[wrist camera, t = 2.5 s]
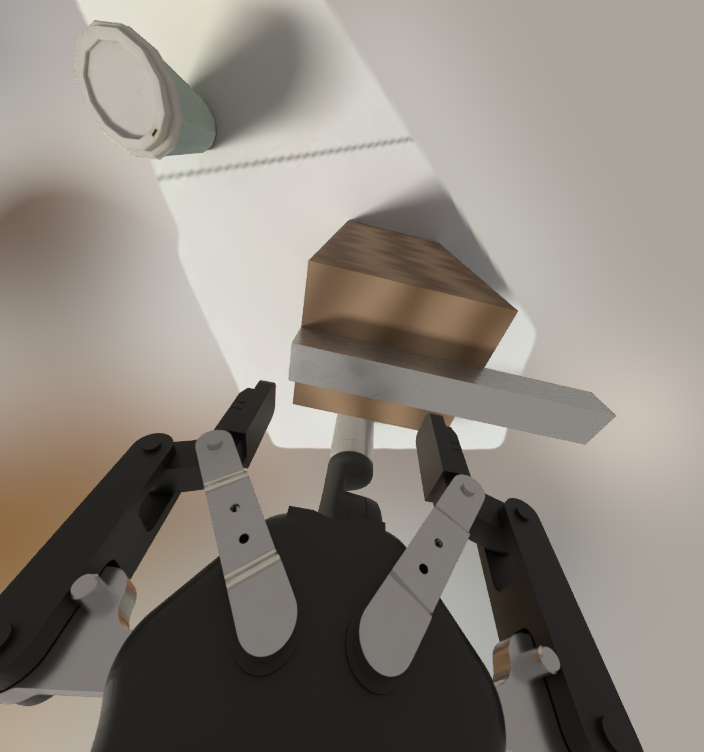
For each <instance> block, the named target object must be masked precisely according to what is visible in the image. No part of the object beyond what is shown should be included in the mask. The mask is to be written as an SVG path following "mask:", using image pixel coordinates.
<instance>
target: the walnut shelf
mask: <svg viewBox="0 0 704 752" xmlns="http://www.w3.org/2000/svg"><path fill="white" fill-rule="evenodd" d="M517 312H518V311H517V310H516V309H515V308H514V307H513V306H512V305H510V304H509V303H508V302H507V301H506V300H505V299H503V298H502V297H501V296H500V295H499V294H498V293H496V292H495V291H494V290H493V289H492V288H491V287H489V286H488V285H487V284H486V283H485V282H484V281H482V280H481V279H480V278H479V277H478V276H477V275H475V274H474V273H473V272H472V271H471V270H470V269H468V268H467V267H466V266H465V265H464V264H463V263H461V262H460V261H459V260H458V259H457V258H456V257H454V256H453V255H452V254H451V253H450V252H449V251H447V250H446V249H445V248H444V247H443V246H441V245H440V244H439V243H436V242H432V241H428V240H424V239H420V238H416V237H412V236H408V235H404V234H400V233H396V232H392V231H388V230H385V229H381V228H377V227H373V226H369V225H365V224H361V223H357V222H353V221H349V220H348V221H347V222H346V223H345V224H344V225H343V226H342V227H341V228H340V229H339V230H338V231H337V232H336V233H335V234H334V235H333V236H332V237H331V239H330V240H329V241H328V242H327V243H326V244H325V245H324V246H323V247H322V248H321V249H320V250H319V251H318V252H317V253H316V254H315V255H314V256H313V257H312V258H311V259H310V260H309V262H308V271H307V280H306V289H305V298H304V307H303V316H302V325H301V326H303V327H307V328H311V329H316V330H320V331H325V332H329V333H333V334H338V335H342V336H346V337H351V338H355V339H360V340H364V341H368V342H373V343H377V344H382V345H386V346H390V347H395V348H399V349H403V350H408V351H412V352H417V353H421V354H425V355H430V356H434V357H439V358H443V359H447V360H452V361H456V362H460V363H465V364H469V365H474V366H478V367H482V368H484V367H485V366H486V364H487V362H488V361H489V359H490V357H491V356H492V354H493V352H494V351H495V349H496V347H497V346H498V344H499V342H500V341H501V339H502V337H503V336H504V334H505V332H506V331H507V329H508V327H509V326H510V324H511V322H512V321H513V319H514V317H515V316H516V314H517ZM293 404H296V405H301V406H305V407H310V408H315V409H319V410H324V411H329V412H334V413H338V414H343V415H348V416H352V417H357V418H362V419H367V420H371V421H376V422H381V423H385V424H390V425H395V426H400V427H404V428H409V429H414V430H418V431H419V428H420V426H421V424H422V422H423V420H424V418H425V416H426V414H427V413H431V414H437V415H442V416H443V418H444V421H445V425H446V426H448V427H449V426H450V424H451V422H452V421H453V419H454V417H455V416H451V415H446V414H442V413H437V412H433V411H428V410H423V409H419V408H414V407H409V406H405V405H400V404H396V403H391V402H386V401H382V400H377V399H373V398H368V397H363V396H359V395H354V394H349V393H345V392H340V391H336V390H331V389H326V388H322V387H317V386H313V385H308V384H303V383H299V382H295V388H294V398H293Z"/></svg>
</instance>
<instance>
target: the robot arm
mask: <svg viewBox="0 0 704 752" xmlns="http://www.w3.org/2000/svg"><path fill="white" fill-rule="evenodd" d="M275 390H276V385H275V383H273V382H268V381H262V380H260V381H259V382H258V384H257V385H256V387H255V389H251V388H247V389H245V390H244V391H242V392H241V393H239V394H238V396H237V397H236V399H235V400H234V402H233V403H232V405H231V406H230V408H229V409H228V410H227V412H226V413H225V415H224V416H223V418H222V419H221V421H220V422H219V423H218V425H217V426H216V428H215V429H214V430H213V431H209V432H207V433H205V434H203V435H202V436H201V437H199V438H198V439H197V440H192V441H180V442H173V439H172V438H171V437H170V436H169V435H167V434H163V433H155V434H151V435H147V436H145V437H142V438H141V439H139V440H138V441H136V442H135V443H134V444H133V445H132V446H131V447H130V448H129V450H128V451H127V452H126V453H125V454H124V455H123V456H122V458H121V459H120V460H119V461H118V462H117V463H116V464H115V466H114V467H113V468H112V469H111V470H110V471H109V472H108V473H107V475H106V476H105V477H104V478H103V479H102V480H101V481H100V482H99V484H98V485H97V486H96V487H95V488H94V489H93V491H92V492H91V493H90V494H89V495H88V496H87V497H86V499H84V501H83V502H82V503H81V504H80V505H79V506H78V507H77V508H76V510H75V511H74V512H73V513H72V514H71V515H70V516H69V518H68V519H67V520H66V521H65V522H64V523H63V524H62V525H61V527H60V528H59V529H58V530H57V531H56V532H55V533H54V534H53V536H52V537H51V538H50V539H49V540H48V541H47V542H46V544H45V545H44V546H43V547H42V548H41V549H40V550H39V551H38V553H37V554H36V555H35V556H34V557H33V558H32V559H31V561H30V562H29V563H28V564H27V565H26V567H24V568H23V570H22V571H21V572H20V573H19V574H18V575H17V576H16V577H15V579H14V580H13V581H12V582H11V583H10V584H9V586H8V587H7V588H6V589H5V590H4V591H3V592H2V593H1V594H0V703H1V704H18V705H23V706H32V705H36V704H39V703H42V702H44V701H46V700H47V699H49V698H51V697H52V696H54V695H62V696H63V695H64V696H84V697H103V701H102V708H101V714H100V719H99V724H98V728H97V732H96V736H95V739H94V742H93V746H92V749H91V752H643V749H642V747H641V744H640V742H639V739H638V737H637V735H636V733H635V730H634V728H633V726H632V724H631V722H630V720H629V717H628V715H627V713H626V710H625V709H624V706H623V704H622V702H621V699H620V697H619V695H618V693H617V691H616V688H615V686H614V684H613V682H612V679H611V677H610V675H609V673H608V670H607V668H606V666H605V664H604V661H603V659H602V657H601V655H600V653H599V650H598V648H597V646H596V644H595V641H594V639H593V637H592V635H591V633H590V631H589V628H588V626H587V624H586V622H585V619H584V617H583V615H582V613H581V610H580V608H579V606H578V604H577V601H576V599H575V597H574V595H573V592H572V590H571V588H570V586H569V584H568V581H567V579H566V577H565V575H564V573H563V570H562V568H561V566H560V564H559V561H558V559H557V557H556V555H555V552H554V550H553V548H552V546H551V543H550V541H549V539H548V537H547V535H546V532H545V530H544V528H543V526H542V524H541V522H540V519H539V517H538V515H537V514H536V512H535V511H534V510H533V509H532V508H531V507H530V506H529V505H528V504H526V503H525V502H523V501H521V500H519V499H516V498H510V499H508V500H507V501H506V502H505V503H504V502H502V501H499V500H497V499H495V498H493V497H491V496H489V495H487V494H485V493H484V490H483V488H482V487H481V485H480V484H479V483H478V482H477V481H476V480H475V479H473V478H471V476H470V473H469V470H468V467H467V464H466V461H465V458H464V455H463V453H462V449H461V446H460V445H459V444H460V443H459V440H458V437H457V435H456V433H455V432H454V431H453V430H452V428H451V427H448V426H446V425H445V421H444V418H443V416H442V415H437V414H431V413H427V414H426V416H425V418H424V420H423V422H422V424H421V426H420V428H419V431H418V433H417V437H416V447H417V453H418V460H419V466H420V473H421V479H422V485H423V492H424V497H425V501H428V502H433V504H434V508H433V510H432V511H431V513H430V514H429V516H428V517H427V519H426V520H425V521H424V523H423V524H422V526H421V528H420V529H419V530H418V532H417V533H416V535H415V536H414V538H413V539H412V541H411V543H410V544H409V545H408V547H407V548H406V546H405V545H404V544H403V543H402V542H401V541H400V540H399V539H398V538H396V537H395V536H394V535H392V534H390V533H389V532H387V531H385V523H384V522H382V517H381V511H380V508H379V506H378V504H377V503H376V502H375V501H373V500H371V499H369V498H367V497H363V496H360V495H356V494H353V493H349V492H346V491H350V490H358V489H361V488H363V487H365V486H367V485H368V484H369V483H370V482H371V480H372V476H373V436H374V421H371V420H367V419H362V418H357V417H352V416H348V415H343V414H337V419H336V425H335V430H334V436H333V441H332V447H331V453H330V458H329V464H328V470H327V474H326V479H325V484H324V489H323V494H322V498H321V502H320V506H319V510H318V512H316V511H314V510H310V509H304V508H299V507H292V506H289V509H288V512H287V513H285V514H280V515H275V516H273V517H270V518H268V519H266V520H265V519H264V517H263V514H262V511H261V508H260V506H259V503H258V500H257V497H256V494H255V492H254V489H253V486H252V484H251V481H250V478H249V475H248V473H247V472H246V471H244V469H243V468H248V467H249V465H250V463H251V461H252V459H253V457H254V455H255V453H256V450H257V448H258V446H259V444H260V442H261V440H262V437H263V436H264V433H265V431H266V429H267V427H268V425H269V423H270V421H271V419H272V416H273V413H274V409H275ZM202 489H205V492H206V497H207V501H208V506H209V511H210V515H211V520H212V524H213V529H214V533H215V537H216V542H217V547H218V551H219V556H218V557H217V558H216V559H215V560H214V561H212V562H211V563H210V564H209V565H208V566H206V567H205V568H204V569H203V570H201V571H200V572H199V573H198V574H197V575H195V576H194V577H193V578H192V579H190V581H188V582H187V583H186V584H184V585H183V586H182V587H181V588H179V589H178V590H177V591H176V592H175V593H173V594H172V595H171V596H170V597H168V599H166V600H165V601H164V602H162V603H161V604H160V605H159V606H157V607H156V608H155V609H154V610H153V611H151V612H150V613H149V614H148V615H147V616H146V617H145V618H144V619H143V620H142V621H141V622H140V623H139V624H138V625H137V626H136V627H135V629H134V630H133V631H132V630H130V628H129V620H130V615H131V612H132V610H133V607H134V604H135V601H136V595H137V593H136V588H135V586H134V585H133V583H132V582H131V581H130V579H131V578H132V576H133V574H134V572H135V571H136V569H137V567H138V566H139V564H140V562H141V560H142V559H143V557H144V555H145V554H146V552H147V550H148V548H149V547H150V545H151V543H152V542H153V540H154V538H155V536H156V535H157V533H158V531H159V530H160V528H161V526H162V524H163V523H164V521H165V519H166V518H167V516H168V514H169V512H170V511H171V509H172V507H173V506H174V504H175V502H176V500H177V499H178V497H179V495H180V493H181V492H187V491H195V490H202ZM468 539H469V540H471V541H473V542H475V543H477V547H478V551H479V556H480V559H481V564H482V568H483V573H484V577H485V581H486V585H487V590H488V594H489V598H490V602H491V606H492V611H493V615H494V620H495V624H496V628H497V632H498V637H499V641H500V642H499V643H498V644H497V645H496V646H495V647H494V650H493V668H494V669H493V672H494V675H493V680H492V678H491V676H490V674H489V672H488V670H487V668H486V667H485V665H484V663H483V662H482V660H481V659H480V657H479V656H478V654H477V653H476V651H475V650H474V648H473V647H472V645H471V644H470V642H469V641H468V639H467V638H466V636H465V635H464V633H463V632H462V630H461V629H460V627H459V626H458V624H457V623H456V621H455V619H454V618H453V616H452V615H451V613H450V612H449V610H448V609H447V607H446V606H445V604H444V603H443V602H442V600H441V598H440V596H441V594H442V592H443V590H444V588H445V586H446V584H447V582H448V580H449V578H450V575H451V573H452V571H453V569H454V567H455V565H456V563H457V561H458V559H459V557H460V555H461V553H462V551H463V548H464V546H465V544H466V542H467V540H468Z"/></svg>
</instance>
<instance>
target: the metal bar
mask: <svg viewBox="0 0 704 752" xmlns="http://www.w3.org/2000/svg"><path fill="white" fill-rule="evenodd" d="M289 381H294V382H299V383H303V384H308V385H313V386H317V387H322V388H326V389H331V390H336V391H340V392H345V393H349V394H354V395H359V396H363V397H368V398H373V399H377V400H382V401H386V402H391V403H396V404H400V405H405V406H409V407H414V408H419V409H423V410H428V411H433V412H437V413H442V414H446V415H451V416H456V417H460V418H465V419H470V420H474V421H479V422H483V423H488V424H493V425H497V426H502V427H506V428H511V429H516V430H520V431H525V432H530V433H534V434H539V435H543V436H548V437H553V438H557V439H562V440H567V441H571V442H576V443H581V444H586V443H588V441H590V440H591V439H592V438H593V437H594V436H595V435H596V434H597V433H598V432H599V431H600V430H602V429H603V428H604V427H605V426H606V425H607V424H608V423H609V422H610V421H611V420H612V419H613V418H614V417H616V415H615V414H614V413H613V412H612V411H611V410H610V409H609V408H607V406H605V405H604V404H603V403H602V402H601V401H600V400H599V399H598V398H597V397H596V396H595V395H594V394H593V393H592V392H588V391H583V390H579V389H574V388H570V387H565V386H561V385H556V384H552V383H548V382H544V381H539V380H535V379H531V378H526V377H522V376H517V375H513V374H509V373H504V372H500V371H495V370H491V369H487V368H482V367H478V366H474V365H469V364H465V363H460V362H456V361H452V360H447V359H443V358H439V357H434V356H430V355H425V354H421V353H417V352H412V351H408V350H403V349H399V348H395V347H390V346H386V345H382V344H377V343H373V342H368V341H364V340H360V339H355V338H351V337H346V336H342V335H338V334H333V333H329V332H325V331H320V330H316V329H311V328H307V327H303V326H301V328H300V330H299V331H298V333H297V335H296V337H295V338H294V340H293V342H292V347H291V358H290V369H289Z"/></svg>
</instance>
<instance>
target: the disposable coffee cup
mask: <svg viewBox="0 0 704 752" xmlns="http://www.w3.org/2000/svg"><path fill="white" fill-rule="evenodd" d="M74 72H75V75H76V79H77V82H78V85H79V89H80V92H81V95H82V99H83V102H84V105H85V106H86V108H87V109H88V111H89V112H90V114H91V115H92V117H93V118H94V120H95V121H96V123H97V124H98V126H99V127H100V129H101V130H102V132H104V133H105V135H106V136H107V137H108V138H109V139H111V140H112V141H114V142H115V143H116V144H118V145H119V146H121V147H122V148H123V149H125V150H126V151H127V152H129V153H130V154H132V155H135V156H136V157H142V158H150V159H158V160H160V159H162V158H163V157H164V156H171V155H182V154H193V153H203V152H205V151H206V150H207V149H209V148H210V147H212V145H213V142H214V139H215V136H216V128H215V121H214V117H213V115H212V113H211V111H210V109H209V108H208V106H207V104H206V102H205V101H204V100H203V99H202V98H201V97H200V96H199V95H198V94H197V93H196V92H195V91H194V90H193V89H192V88H191V87H190V86H189V85H188V84H187V83H186V82H185V81H184V80H183V79H182V78H181V77H180V76H179V75H178V74H177V73H176V72H175V71H174V70H173V69H172V68H171V67H170V66H169V65H168V64H167V63H166V62H165V61H164V60H163V59H162V57H161V56H160V54H159V52H158V50H156V49H155V48H154V47H153V46H152V45H151V44H149V43H148V42H147V41H146V40H145V39H143V38H142V37H141V36H140V35H139V34H138V33H136V32H135V31H134V30H133V29H132V28H130V27H129V26H125V25H124V24H120V23H112V22H105V21H97V20H94V21H93V22H92V23H91V24H90V25H89V26H88V27H87V28H86V29H85V31H83V32H82V33H81V34H80V35H79V37H78V38H77V41H76V54H75V67H74Z"/></svg>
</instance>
